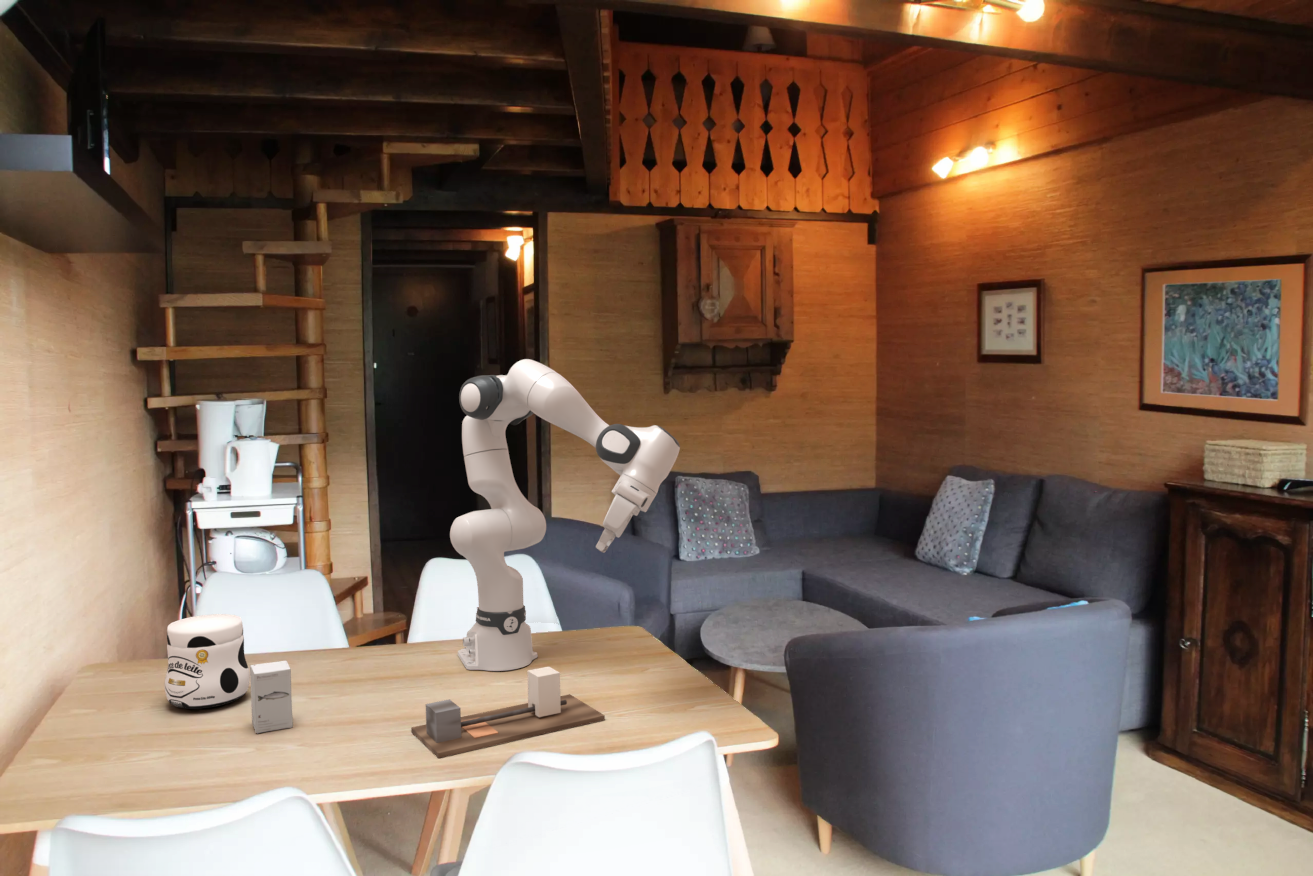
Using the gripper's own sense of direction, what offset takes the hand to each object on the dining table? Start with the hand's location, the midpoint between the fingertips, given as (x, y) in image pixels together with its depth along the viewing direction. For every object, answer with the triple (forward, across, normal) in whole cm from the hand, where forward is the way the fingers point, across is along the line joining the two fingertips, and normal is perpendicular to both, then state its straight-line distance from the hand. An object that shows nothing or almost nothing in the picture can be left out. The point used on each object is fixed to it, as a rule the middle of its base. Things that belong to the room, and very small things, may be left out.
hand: (599, 550), depth 213 cm
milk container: (+73, -13, -59) cm, 95 cm away
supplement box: (+66, +2, -40) cm, 77 cm away
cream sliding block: (+35, +1, +7) cm, 36 cm away
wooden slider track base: (+40, +5, +3) cm, 41 cm away
